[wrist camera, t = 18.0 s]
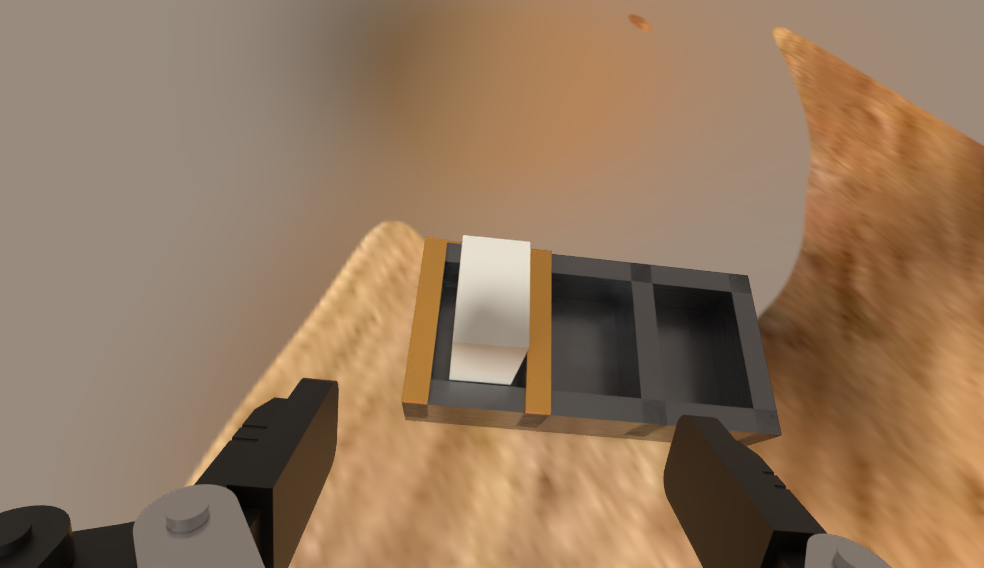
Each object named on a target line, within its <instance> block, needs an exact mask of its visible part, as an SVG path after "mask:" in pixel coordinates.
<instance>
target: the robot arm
mask: <svg viewBox="0 0 984 568" xmlns="http://www.w3.org/2000/svg"><path fill="white" fill-rule="evenodd" d="M338 394H339V388H338V382H337V381H332V380H321V379H311V378H303V379H301V381H300V382H299V383H298V385H297V386H296V388H295V389H294V390H293V392H292V393H291V395H290V396H289V397H288V399H284V398H273V399H271V400H270V401H268V402H266V403H265V404H263V405H261V406H260V407H258V408H256V409H255V410H254V411H253V412H252V413H251V415H250V416H249V417H248V418H247V420H246V421H245V422H244V423H243V425H242V428H239V430H238V431H237V432H236V433H235V435H234V436H233V437H232V441H229V442H228V443H227V445H226V446H225V447H224V448H223V450H222V451H221V452H220V453H219V455H218V456H217V457H216V458H215V460H214V461H213V462H212V463H211V465H210V466H209V467H208V468H207V469H206V471H205V472H204V473H203V474H202V476H201V477H200V478H199V479H198V481H197V482H196V483H195V484H194V485H193V486H188V487H184V488H180V489H177V490H175V491H172V492H170V493H167V494H165V495H163V496H162V497H160V498H158V499H156V500H155V501H153V502H152V503H151V504H149V505H148V506H147V507H146V508H145V509H144V510H143V511H142V512H141V513H140V515H139V516H138V518H137V519H136V521H134V522H129V523H124V524H119V525H112V526H106V527H99V528H93V529H87V530H80V531H75V532H72V528H71V522H70V518H69V515H68V514H67V513H66V512H65V511H64V510H62V509H60V508H57V507H53V506H45V505H43V506H42V505H41V506H28V507H21V508H16V509H12V510H9V511H5V512H2V513H0V568H288V567H289V564H290V562H291V560H292V557H293V555H294V553H295V550H296V548H297V546H298V544H299V541H300V539H301V537H302V534H303V532H304V530H305V527H306V525H307V523H308V520H309V518H310V516H311V514H312V511H313V509H314V507H315V504H316V502H317V500H318V497H319V495H320V493H321V491H322V488H323V486H324V484H325V481H326V479H327V477H328V474H329V472H330V470H331V467H332V464H333V460H334V456H335V451H336V444H337V422H338ZM664 489H665V493H666V496H667V499H668V501H669V503H670V505H671V507H672V509H673V510H674V512H675V514H676V516H677V518H678V520H679V522H680V524H681V526H682V528H683V530H684V532H685V534H686V535H687V537H688V539H689V541H690V543H691V545H692V547H693V549H694V551H695V553H696V555H697V557H698V559H699V560H700V562H701V564H702V566H703V568H892V567H891V566H889V565H888V564H887V563H886V562H885V561H884V560H883V559H881V558H880V557H879V556H877V555H876V554H875V553H873V552H872V551H870V550H868V549H867V548H865V547H863V546H862V545H860V544H858V543H856V542H854V541H851V540H849V539H846V538H843V537H840V536H837V535H832V534H827V533H826V531H825V530H824V529H823V528H822V527H821V526H820V525H819V523H818V522H817V521H816V520H815V519H814V518H813V517H812V515H811V514H810V513H809V512H808V511H807V510H806V508H805V507H804V506H803V505H802V504H801V503H800V502H799V500H798V499H797V498H796V497H795V496H794V495H793V494H792V492H791V491H790V490H787V489H786V486H785V484H784V483H783V482H782V481H781V480H780V479H779V478H778V476H775V475H774V472H773V471H772V470H771V468H770V467H769V466H768V465H767V464H766V463H765V462H764V460H763V459H762V458H761V457H760V456H759V455H758V454H756V453H755V452H753V451H752V450H751V449H749V448H748V447H746V446H745V445H744V444H742V443H741V442H739V441H736V440H735V439H734V437H733V436H732V435H731V434H730V433H729V431H728V430H727V429H726V428H725V427H724V425H723V424H722V423H721V422H720V421H719V420H718V419H717V418H714V417H704V416H693V415H682V416H681V417H680V418H679V419H678V422H677V425H676V428H675V432H674V436H673V439H672V443H671V447H670V451H669V454H668V458H667V462H666V465H665V470H664Z"/></svg>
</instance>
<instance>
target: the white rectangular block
mask: <svg viewBox="0 0 984 568" xmlns="http://www.w3.org/2000/svg"><path fill="white" fill-rule="evenodd" d="M529 317H530V242H527V241H517V240H508V239H497V238H487V237H478V236H468V235H463V240H462V250H461V259H460V269H459V279H458V288H457V298H456V308H455V318H454V329H453V340H452V351H451V362H450V373H449V381H453V382H464V383H475V384H486V385H497V386H508V387H510V385H511V383H512V381H513V379H514V377H515V375H516V373H517V371H518V369H519V367H520V365H521V363H522V361H523V359H524V357H525V355H526V353H527V351H528V349H529Z"/></svg>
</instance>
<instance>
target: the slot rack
mask: <svg viewBox="0 0 984 568" xmlns="http://www.w3.org/2000/svg"><path fill="white" fill-rule="evenodd" d="M461 250H462V242H453V241H448V243H447V239H437V238H428V237H426V238H425V245H424V251H423V258H422V265H421V272H420V278H419V285H418V292H417V299H416V305H415V312H414V319H413V326H412V332H411V339H410V346H409V353H408V359H407V366H406V373H405V380H404V386H403V393H402V400H401V401H402V406H403V410H404V415H405V420H413V421H424V422H436V423H448V424H460V425H472V426H483V427H495V428H507V429H519V430H531V431H542V432H554V433H566V434H578V435H590V436H601V437H613V438H625V439H637V440H649V441H661V442H672V439H673V436H674V432H675V428H676V425H677V422H678V419H679V418H680V417H681V416H682V415H693V416H704V417H714V418H717V419H718V420H719V421H720V422H721V423H722V424H723V425H724V427H725V428H726V429H727V430H728V431H729V433H730V434H731V435H732V436H733V437H734V439H735V440H736V441H739V442H741V443H742V444H744V445H745V446H748V445H751V444H754V443H758V442H761V441H764V440H768V439H771V438H774V437H778V436H781V435H782V434H781V429H780V425H779V420H778V415H777V410H776V406H775V401H774V396H773V392H772V387H771V382H770V377H769V373H768V368H767V363H766V359H765V354H764V349H763V344H762V340H761V335H760V330H759V326H758V321H757V316H756V312H755V307H754V302H753V298H752V293H751V288H750V283H749V279H748V276H747V275H738V274H729V273H719V272H711V271H702V270H693V269H683V268H675V267H665V266H656V265H647V264H638V263H628V262H620V261H610V260H601V259H592V258H583V257H575V256H565V255H556V254H552V253H551V251H546V250H537V249H530V317H529V349H528V351H527V353H526V355H525V357H524V359H523V361H522V363H521V365H520V367H519V369H518V371H517V373H516V375H515V377H514V379H513V381H512V383H511V385H510V387H508V386H497V385H486V384H475V383H464V382H453V381H449V373H450V362H451V351H452V340H453V329H454V318H455V308H456V298H457V288H458V279H459V269H460V259H461Z"/></svg>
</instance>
